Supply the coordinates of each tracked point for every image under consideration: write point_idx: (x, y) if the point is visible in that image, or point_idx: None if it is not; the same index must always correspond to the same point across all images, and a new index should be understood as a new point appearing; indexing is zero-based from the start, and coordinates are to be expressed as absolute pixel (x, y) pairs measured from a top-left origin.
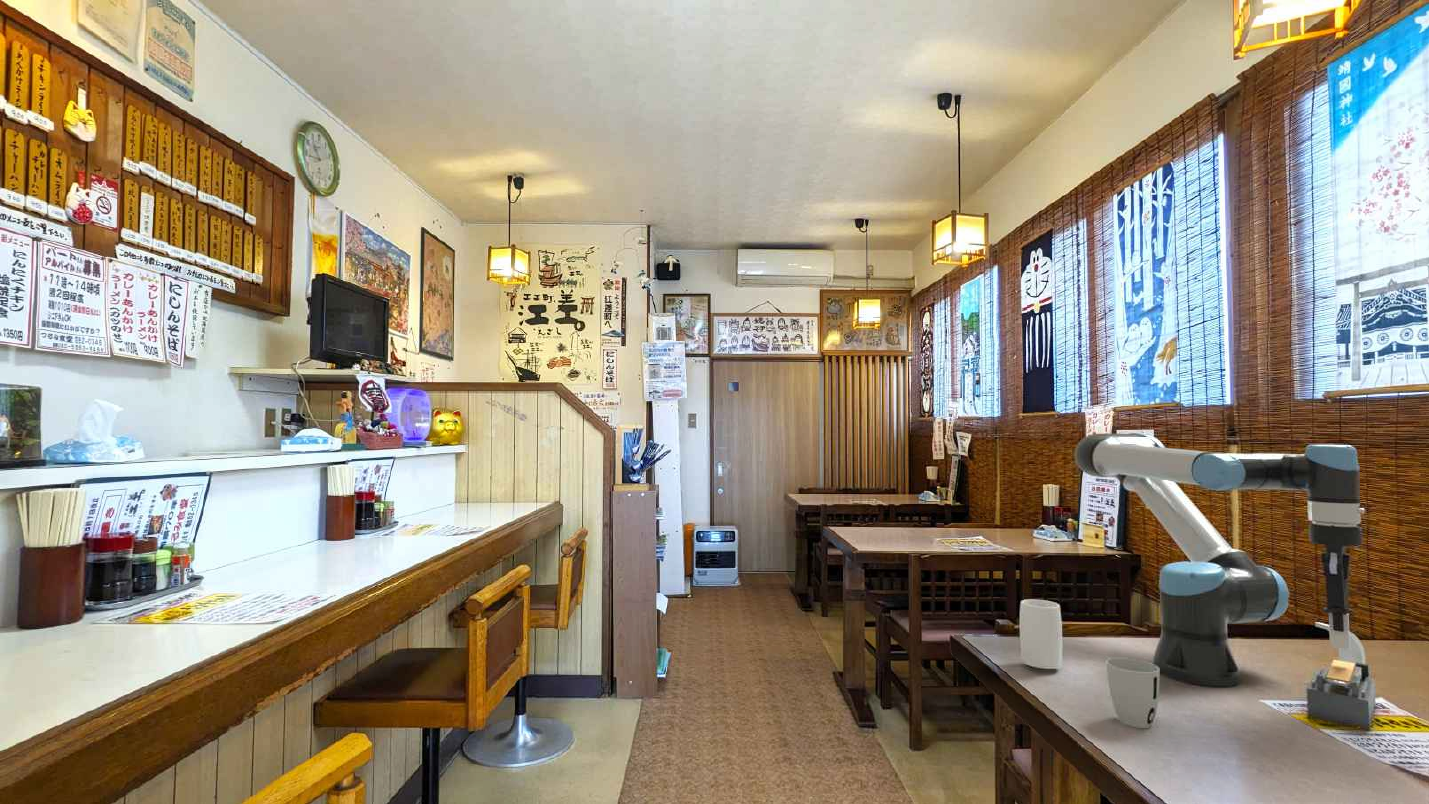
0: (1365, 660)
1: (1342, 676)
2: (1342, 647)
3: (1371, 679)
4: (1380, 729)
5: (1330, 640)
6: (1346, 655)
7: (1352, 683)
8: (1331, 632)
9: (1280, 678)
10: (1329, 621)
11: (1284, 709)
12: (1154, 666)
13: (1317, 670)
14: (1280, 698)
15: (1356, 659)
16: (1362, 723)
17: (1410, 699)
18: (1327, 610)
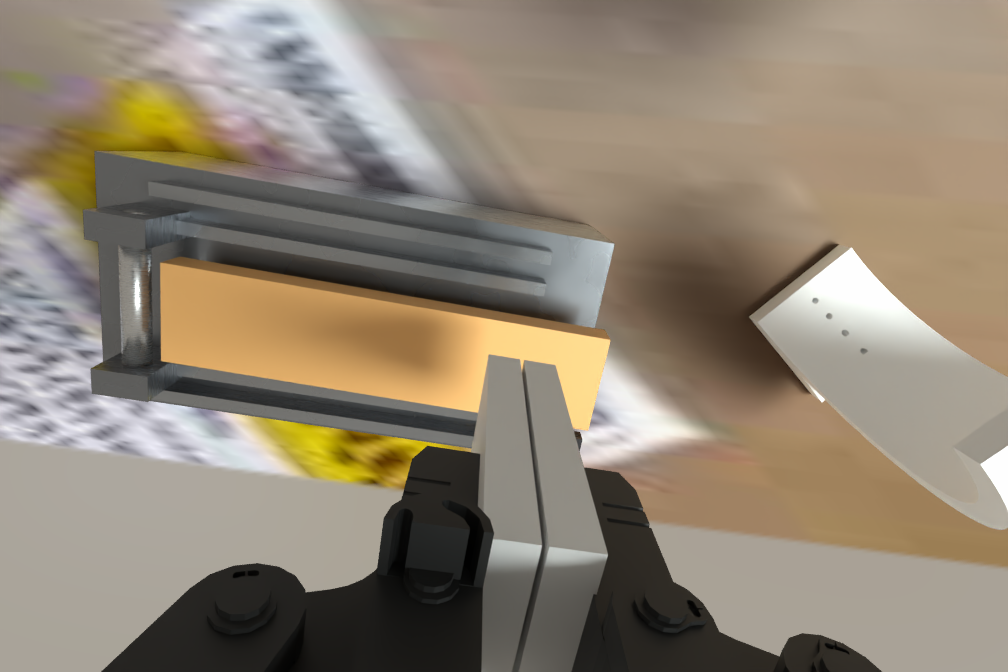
0: (907, 473)
1: (237, 341)
2: (476, 425)
3: None
4: None
5: (489, 377)
6: (972, 407)
7: (93, 371)
8: (484, 418)
9: (782, 79)
10: (487, 467)
11: (213, 60)
12: None
13: (567, 240)
14: (394, 54)
15: (917, 440)
16: None
17: (729, 515)
18: (381, 551)
